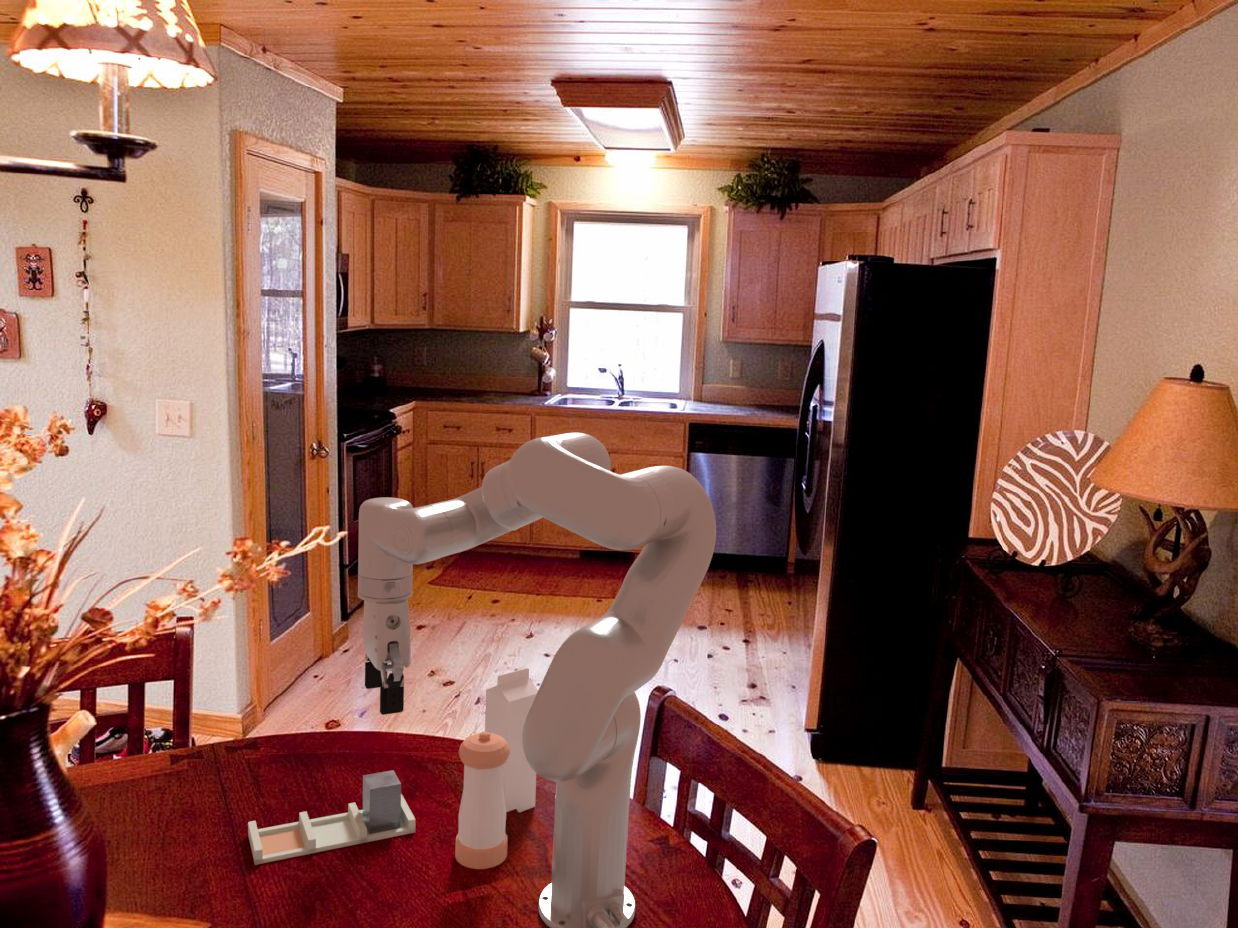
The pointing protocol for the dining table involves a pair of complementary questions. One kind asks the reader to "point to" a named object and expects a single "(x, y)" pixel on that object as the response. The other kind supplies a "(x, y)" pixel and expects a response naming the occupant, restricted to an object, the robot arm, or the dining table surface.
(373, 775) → the tall gray pillar
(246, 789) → the dining table surface
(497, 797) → the pepper shaker
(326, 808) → the dining table surface
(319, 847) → the white compartment tray
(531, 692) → the milk
